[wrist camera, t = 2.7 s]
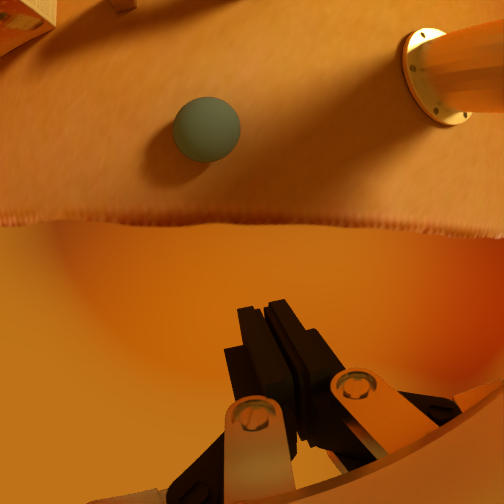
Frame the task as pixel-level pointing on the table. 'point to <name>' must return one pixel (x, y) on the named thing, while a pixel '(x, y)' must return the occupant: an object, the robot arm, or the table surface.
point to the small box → (24, 21)
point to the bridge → (123, 5)
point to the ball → (206, 129)
